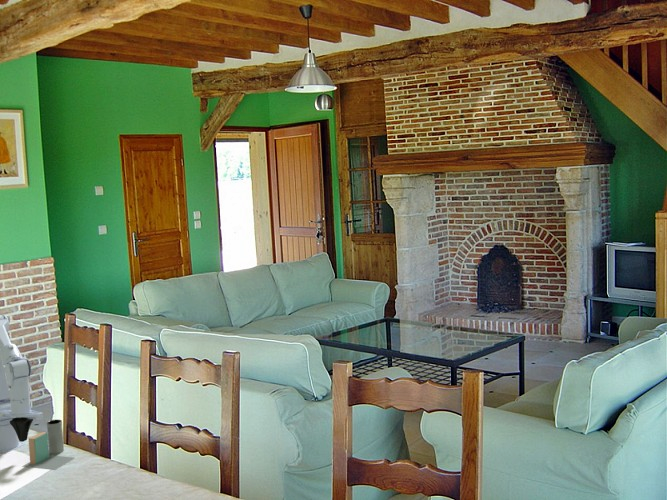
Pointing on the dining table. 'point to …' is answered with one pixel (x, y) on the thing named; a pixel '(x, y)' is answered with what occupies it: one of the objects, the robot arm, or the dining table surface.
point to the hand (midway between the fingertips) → (23, 440)
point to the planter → (55, 436)
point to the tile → (38, 447)
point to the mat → (51, 462)
